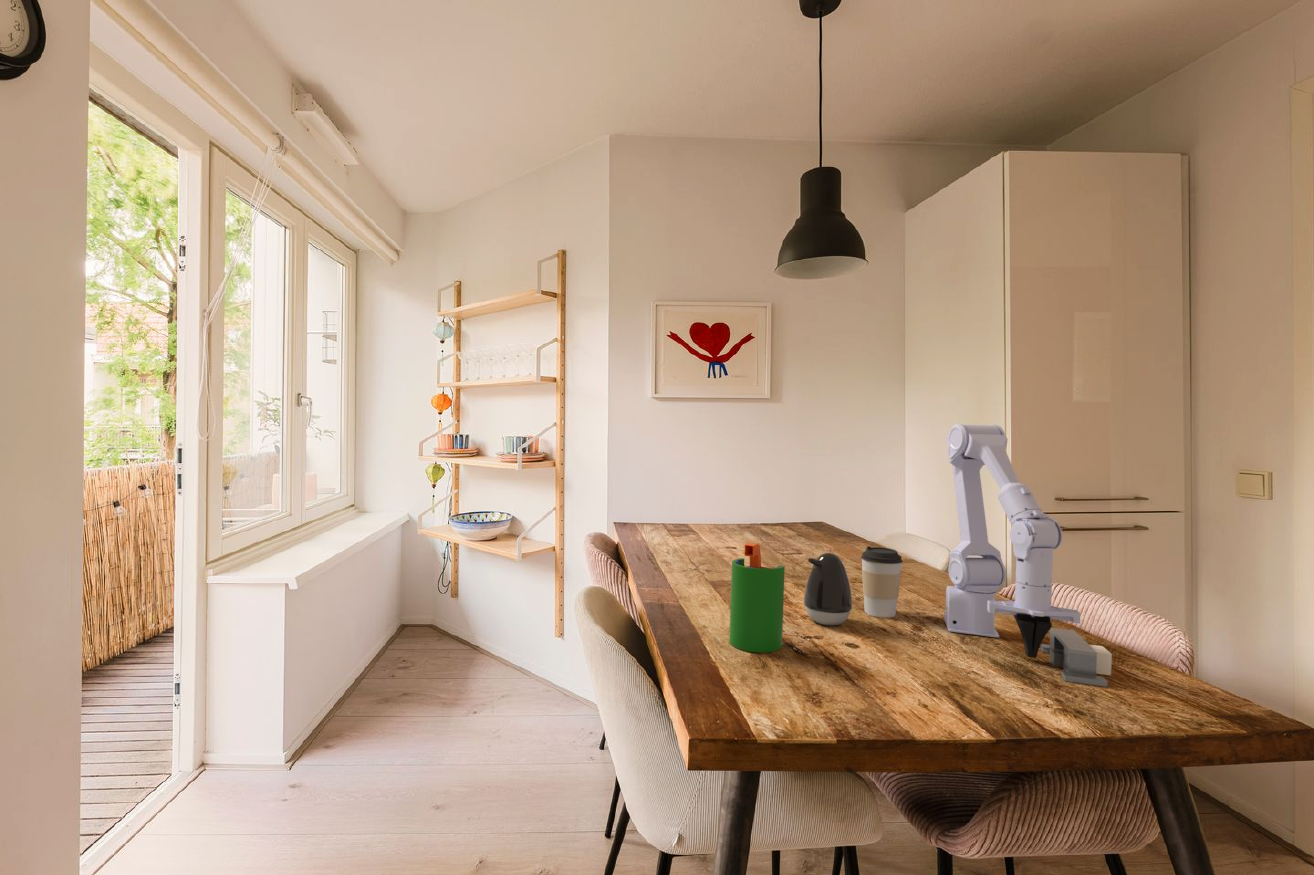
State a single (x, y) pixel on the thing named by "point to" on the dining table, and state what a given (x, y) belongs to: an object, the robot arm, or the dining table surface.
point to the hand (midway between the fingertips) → (1030, 655)
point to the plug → (1102, 659)
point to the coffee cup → (881, 581)
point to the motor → (756, 604)
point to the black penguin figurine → (828, 591)
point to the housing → (1075, 657)
